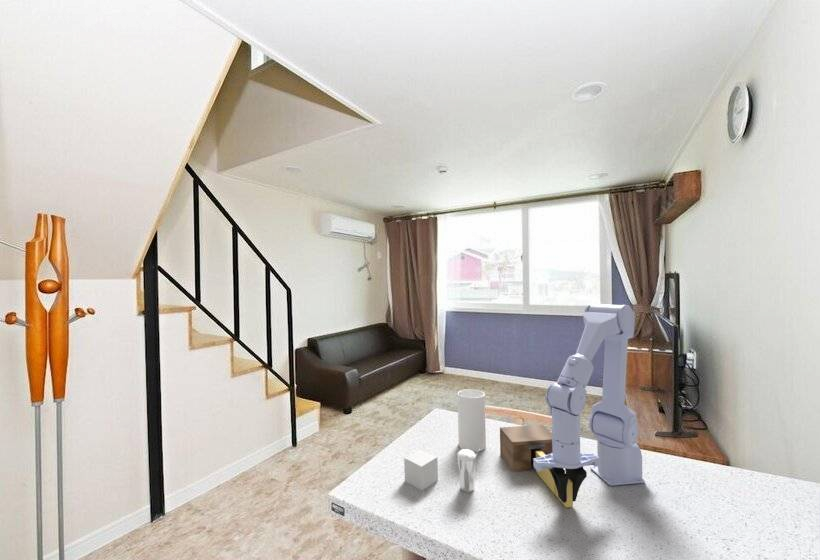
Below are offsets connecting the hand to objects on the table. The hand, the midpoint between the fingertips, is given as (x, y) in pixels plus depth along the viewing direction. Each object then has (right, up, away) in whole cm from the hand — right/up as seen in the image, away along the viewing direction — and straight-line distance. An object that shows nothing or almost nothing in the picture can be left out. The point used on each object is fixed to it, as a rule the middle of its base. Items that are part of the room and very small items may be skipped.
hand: (567, 499), depth 77 cm
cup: (-16, -2, +28) cm, 33 cm away
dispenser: (-2, -1, +19) cm, 19 cm away
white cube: (-32, -2, +11) cm, 34 cm away
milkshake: (-21, -2, +7) cm, 22 cm away
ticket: (-1, -1, +6) cm, 6 cm away
